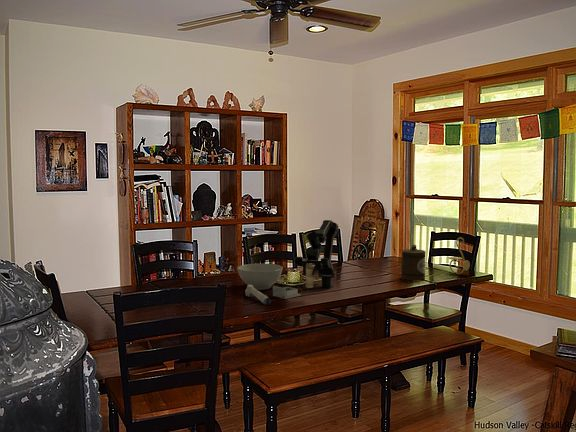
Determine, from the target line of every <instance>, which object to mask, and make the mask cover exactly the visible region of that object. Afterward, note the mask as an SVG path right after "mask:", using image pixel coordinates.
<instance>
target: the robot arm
mask: <svg viewBox="0 0 576 432" xmlns="http://www.w3.org/2000/svg"><path fill="white" fill-rule="evenodd" d="M338 232H339V224H338V223H336V222H334V221H333V220H330V219H329V220H328V219H325V220H323V221H322V224H321V226H320V227H319V228H318V230H312V231H311V232H310V233H308V234H307V236H306V238H307V241H308V244H309V246H310V248H305V253H304V254H305V257H306V258H304V257H303V256H296V257H294V263H295V265H296V266H297V267H302V269H303V274H304V276H306V264H313V265H314V266H313V273H312V276H313V277H314V276H315V275H316V273H318V278H321V285H320V286H319V288H322V289H331V288H333V287H334V285H332V279H333V278H335V277H336V276H335V270H334V266H333V264H332V253H333V246H334V240H335V237H336V236H337V235H338ZM322 244H324V250H323V249H322V248H323V245H322ZM322 250H323V257H321V252H322ZM319 259H320V260H319Z"/></svg>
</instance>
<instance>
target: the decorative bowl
mask: <svg viewBox="0 0 576 432" xmlns="http://www.w3.org/2000/svg"><path fill="white" fill-rule="evenodd" d="M283 269H284V267H283V266H282V265H280V264H274V263H249V264H242V265H239V266H237V273H238V275H239V277H240V279H241V280H242V282H244V284H245V285H253V287H254V288H255V289H256V290H258V291H262V290H269V289H270V288H272V286H274V284H275V283H276V282H277V281H278V280H279V279H280V278H281V275H282V273H283Z"/></svg>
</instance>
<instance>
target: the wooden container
mask: <svg viewBox="0 0 576 432" xmlns="http://www.w3.org/2000/svg"><path fill="white" fill-rule="evenodd" d="M410 247H411V248H408V249H407V248H406V249H402V252H401V279H402V280H404V279H407V280H406V281H409V280H421V281H423V280H422V279H424V280H426V255H427V254H426V250H424V249H417V245H416V244H412V245H410Z"/></svg>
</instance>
